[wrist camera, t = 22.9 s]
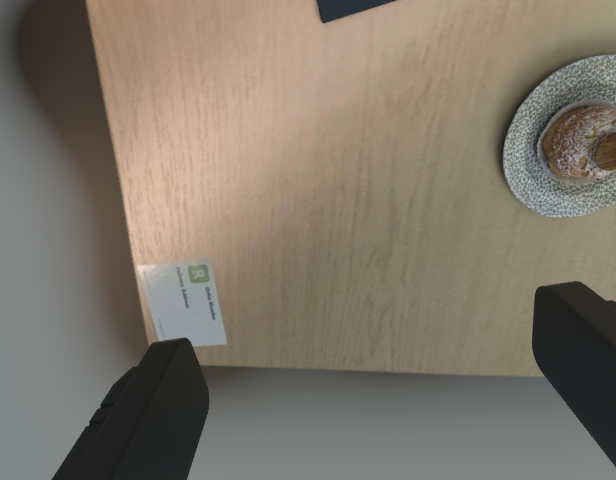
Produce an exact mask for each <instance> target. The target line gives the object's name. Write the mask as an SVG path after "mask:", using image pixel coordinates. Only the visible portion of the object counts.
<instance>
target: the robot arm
mask: <svg viewBox="0 0 616 480" xmlns="http://www.w3.org/2000/svg"><path fill="white" fill-rule="evenodd" d="M532 349H533V353H534V357H535V360H536V362H537V364H538V366H539V368H540V370H541V371H542V373H543V374H544V375H545V377H546V378H547V379H548V381H549V382H550V383H551V384H552V386H553V387H554V388H555V389H556V391H557V392H558V393H559V395H560V396H561V397H562V398H563V400H564V401H565V402H566V404H567V405H568V406H569V408H570V409H571V410H572V411H573V413H574V414H575V415H576V417H577V418H578V419H579V420H580V422H581V423H582V424H583V426H584V427H585V428H586V429H587V431H588V432H589V433H590V435H591V436H592V437H593V438H594V440H595V441H596V442H597V443H598V445H599V446H600V447H601V449H602V450H603V451H604V453H605V454H606V455H607V456H608V458H609V459H610V460H611V462H612V463H613V464H614V465H615V467H616V302H615V301H612V300H611V301H606V300H604V299H603V298H602V297H600V296H599V295H598V294H596V293H595V292H594V291H592V290H591V289H590V288H588V287H587V286H586V285H585V284H583V283H581V282H578V281H574V282H567V283H561V284H554V285H547V286H540V287H538V289H537V290H536V293H535V300H534V317H533V333H532ZM208 409H209V392H208V387H207V384H206V381H205V378H204V376H203V373H202V370H201V368H200V365H199V362H198V360H197V357H196V354H195V352H194V349H193V347H192V344H191V342H190V341H189V340H188V339H187V338H178V339H172V340H165V341H158V342H154V343H152V344H151V345H150V347H149V348H148V350H147V352H146V353H145V355H144V356H143V358H142V360H141V361H140V363H139V365H138V366H137V367H132V368H131V369H130V370H129V371H128V372H127V373H126V374H124V375H123V376H122V377H121V378H120V379H119V380H118V381H117V382H116V383H115V384H114V385H113V386H112V388H111V389H110V391H109V392H108V394H107V395H106V397H105V399H104V400H103V402H102V403H101V408H100V409H97V411H96V412H95V414H94V415H93V417H92V418H91V420H90V422H89V423H90V424H89V426H87V427H86V428H85V429H84V431H83V432H82V434H81V435H80V437H79V438H78V440H77V441H76V443H75V445H74V446H73V448H72V449H71V451H70V452H69V454H68V455H67V457H66V458H65V460H64V462H63V463H62V465H61V466H60V468H59V469H58V471H57V472H56V474H55V475H54V477H53V478H52V480H187V477H188V474H189V471H190V468H191V465H192V462H193V458H194V455H195V452H196V449H197V446H198V442H199V439H200V436H201V433H202V430H203V426H204V423H205V420H206V417H207V414H208Z"/></svg>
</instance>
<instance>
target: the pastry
mask: <svg viewBox="0 0 616 480" xmlns="http://www.w3.org/2000/svg"><path fill="white" fill-rule="evenodd" d="M502 163H503V169H504V174H505V178H506V181H507V183H508V185H509V187H510V189H511V191H512V192H513V194H514V196H515V197H516V198H517V199H518V200H519V201H520V202H521V203H523V204H524V205H525V206H526V207H528V208H529V209H531V210H532V211H534V212H536V213H539V214H542V215H545V216H549V217H556V218H557V217H558V218H564V217H574V216H582V215H586V214H589V213H592V212H595V211H597V210H600V209H603V208H605V207H607V206H610V205H612V204H613V203H615V202H616V55H612V54H611V55H601V56H593V57H588V58H584V59H581V60H579V61H576V62H574V63H572V64H570V65H568V66H566V67H564V68H561V69H559V70H558V71H556V72H554V73H553V74H551V75H550V76H549V77H548V78H546V79H545V80H544V81H542V82H541V83H540V84H539V85H538V86H537V87H536V88H535V89H534V90H533V91H532V92H531V93H530V94H529V96H528V97H527V98H526V99H525V101H524V102H523V103H522V105H521V106H520V107H519V109H518V110H517V112H516V114H515V116H514V118H513V120H512V122H511V124H510V127H509V129H508V132H507V135H506V138H505V142H504V147H503V161H502Z"/></svg>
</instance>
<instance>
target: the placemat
mask: <svg viewBox="0 0 616 480" xmlns="http://www.w3.org/2000/svg"><path fill="white" fill-rule="evenodd" d="M392 1H395V0H317V2H318V6H319V11H320V15H321V19H322V23H326V22H329V21H332V20H335V19H339V18H342V17H345V16H348V15H351V14H354V13H358V12H361V11H364V10H367V9H370V8H373V7H376V6H380V5H383V4H386V3H389V2H392Z"/></svg>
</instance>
